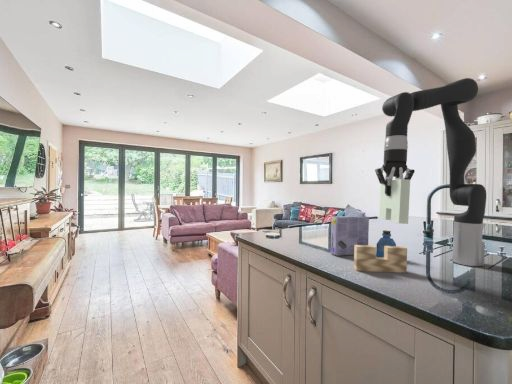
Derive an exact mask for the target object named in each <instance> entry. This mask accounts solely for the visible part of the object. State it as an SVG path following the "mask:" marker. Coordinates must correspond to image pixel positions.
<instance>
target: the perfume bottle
mask: <svg viewBox="0 0 512 384" xmlns="http://www.w3.org/2000/svg"><path fill="white" fill-rule="evenodd" d="M381 236H382V237H380V238H379V240H378V241H377V242H376V257H382V258H384V246H397V244H396V242H395V240H394V238H391V237H392V233H391V230H382V233H381Z"/></svg>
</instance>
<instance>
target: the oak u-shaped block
mask: <svg viewBox="0 0 512 384" xmlns="http://www.w3.org/2000/svg"><path fill="white" fill-rule="evenodd" d="M376 248H377V246H374V245H369V244H368V245H354V255H353V269H354V270H355V271H356V272H357V271H358V272H377V273H378V272H380V273H382V272H383V273H402V272H403V273H404V274H406V273H407V269H408V268H407V266H408V248H407V247H405V246H398V245H396V246H384V258H382V257H376Z"/></svg>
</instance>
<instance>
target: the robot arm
mask: <svg viewBox="0 0 512 384" xmlns="http://www.w3.org/2000/svg"><path fill="white" fill-rule="evenodd" d="M478 91H479V85H478V82H477V81H476V80H474V79H473V78H470V77H467V78H466V77H465V78H461V79H458V80H455V81H453V82H450V83H448V84H446V85H443V86H440V87H439V86H438V87H434V88H428V89H422V90H421V89H420V90H417V91H413V92H407V91H404V92H400V93H398V94H396V95H393V96H391V97H389V98H387V99H386V100H385V101H384V102H383V103H382V106H381V107H382V108H381V109H382V112H383V114H384V115H385V116H387V117H393V118H392V119H391V120H390V121H388V122H387V123H386V125H385V137H384V138H385V140H384V145H383V146H384V147H383V164H382V166H381V167H378V168H376V169H375V170H374V172H375V174H376V177H377V179H378V182H379V184H380V185H381V184H384V185H385V194H386V196H391V186H390V185H391V181H392V180H398V179H406V180H410V181H411V180H412V178H413V176H414V174H415V171H416V170H415V169H410V168H409V167H408V165H407V162H408V150H409V149H408V148H409V147H408V146H409V143H408V127H409V122H410V120H411V117H412V115H413V112H416V111H418V112H419V111H421V110H426V109H431V108H434V107H436V106H440V109H441V112H442V117H443V121H444V128H445V137H446V139H445V140H446V150H447V157H448V167H449V198H450V200H451V203H452V204H454V206H460V207H461V206H464V207H467V209H466V211H464V212H461V213H456V214H454V217H453V239H452V240H453V241H452V262H453V263H455V264H459V265H464V266H470V267H481V266H485V249H486V248H485V247H486V245H485V242H484V241H483V231H484V230H483V229H484V228H483V225H484V224H483V223H484V219H485V214H486V206H487V205H486V204H487V189H486V187H485V186H484V185H483V184H481V183H480V184H479V183H465V173H466V171H467V169H468V166H469V165H470V163H472V161H473V159H474V157H475V155H476V153H477V145H476V144H477V142H476V136H475V135H476V134H475V132H473V129H471V127H469V126H468V124H467V123H465V122H464V120H463V119H462V118H461V116H460V112H459V107H458V105H462V104H465V103H468V102H470V101H472V100H474V98H475V97H477V95H478ZM383 173H385V176H384V174H383ZM404 173H405V176H404ZM393 178H395V179H393Z"/></svg>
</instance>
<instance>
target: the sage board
mask: <svg viewBox="0 0 512 384" xmlns="http://www.w3.org/2000/svg"><path fill="white" fill-rule="evenodd" d="M390 186H391V196H386V194H385V185H384V184H380V188H379V189H380V191H379V192H380V193H379V211H378V214H379V216H378V218H379V219H382V220H385V221H386V220H387V221H390V222H393V223H396V224H403V225H404V224H406V225H408V224H409V216H410V215H409V210H410V196H411V195H410V194H411V193H410V192H411V191H410V190H411V180H406V179H404V178H403V179H398V180H396V179H392V181H391V185H390Z"/></svg>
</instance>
